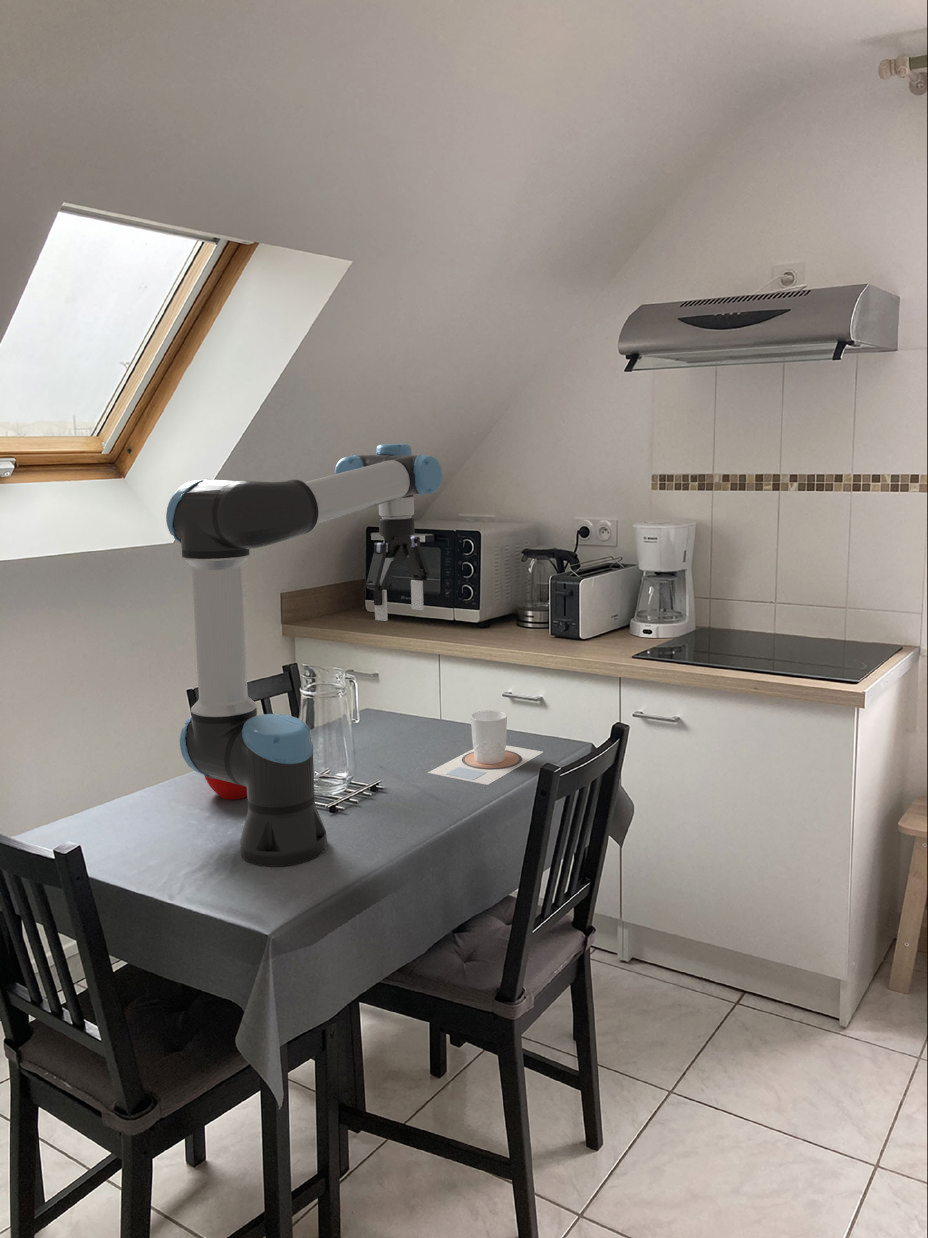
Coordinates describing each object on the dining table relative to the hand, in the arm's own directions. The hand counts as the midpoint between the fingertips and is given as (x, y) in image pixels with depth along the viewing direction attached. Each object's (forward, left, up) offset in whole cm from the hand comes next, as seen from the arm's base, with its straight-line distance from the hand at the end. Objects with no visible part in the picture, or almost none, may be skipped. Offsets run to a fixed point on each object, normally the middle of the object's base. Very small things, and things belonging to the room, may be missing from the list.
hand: (399, 614), depth 221 cm
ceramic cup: (-37, +2, -33) cm, 50 cm away
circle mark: (+14, -14, -32) cm, 38 cm away
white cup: (+13, -14, -32) cm, 37 cm away
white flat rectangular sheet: (+12, -15, -33) cm, 38 cm away
